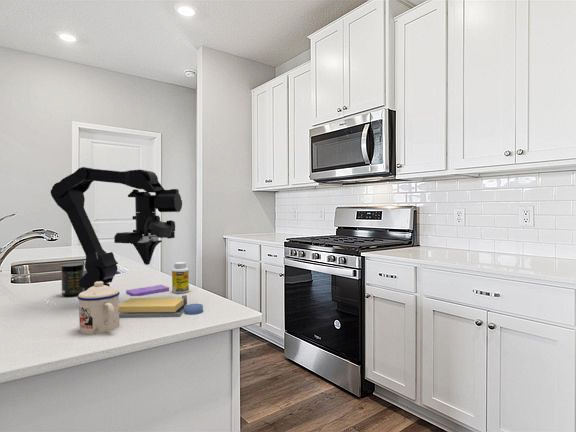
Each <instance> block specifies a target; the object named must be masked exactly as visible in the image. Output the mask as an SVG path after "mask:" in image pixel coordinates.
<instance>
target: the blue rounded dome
mask: <svg viewBox="0 0 576 432" xmlns="http://www.w3.org/2000/svg"><path fill="white" fill-rule="evenodd" d="M203 312H204V305H203V304H201V303H190V304H186V306H184V313H183V314H184V315H193V316H194V315H200V314H202V313H203Z"/></svg>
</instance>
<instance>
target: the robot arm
mask: <svg viewBox="0 0 576 432" xmlns="http://www.w3.org/2000/svg"><path fill="white" fill-rule="evenodd" d="M93 182H102V183H103V182H104V183H113V184H122V185H125V186H126V187H130V188H134V189H132V191H131V192H129V194H128V195H127V197H128V198H135V199H134V201H135V204H134V205H135V206H134V207H135V215H132V220H135V229H133V230H132V232H131V231H124V232H123V231H122V232H116V233H115V235H114V237H113V238H114V239H113V240H114V244H130V245H133V246H134V248H135V249H136V251H137V253H138V254H139V256H140V258H141V261H142V262H143V264H144V265H146V266H147V265H150V263H151V260H152V258H153V254H154V251H155V249H156V247H157V246H158V245H159V244H160V243H162V242H163V240H160V239H163V238H165V239H166V238H167V239H168V240H169V239H175V238H176V237H175V233H176V222H175V221H173V220H171V219H170V220H167V221H161V216H160V215H157V210H158V212H159V213H180V212H181V211H182V207H183V200H182V197H181V195H180V192H179V188H172V189H165V188H164V187H163V186H162V184H161V183H160V181H159V177H158V175H157V174H156V173H155V172H153V171H150V170H145V169H131V170H126V171H119V170H109V169H99V168H93V167H86V166H82V167H79V168H78V169H76V170H75V171H74V172H73V173H70V174H69V175H67V176H66V177H63V178H62V179H61V180H60V181H58V182H56V183H54V185H52V187H51V189H50V195H51V198H52V199H53V200H54V202H55V203H56V205H57V206H58V207H59V208H60V209H61V210H63V211H64V212H65V214H66V215H67V217H68V219H69V222H70V223H71V225H72V228H73V230H74V232H75V235H76V237H77V240H78V242H79V244H80V245H81V248H82V250H83V252H84V255H85V263H84V267H85V268H84V269H85V271H86V273H84V276H83V277H82V278H81V279H80V280H79V283H80V286H81V288H84V291H86V290H88V289H89V288H90V287H93V286H94V283H95V282H98V281H102V282H103V285H106V286H109V287H111V286H110V283H112V282H113V280H114V277H115V276H116V274H117V272H118V264H119V262H118V261H117V260H116V258H115V255H114V253H113V252H112V251H111V252H106V251H105V250H104V248H103V247H102V245H101V243H100V240H99V238H98V235H97V234H96V231H95V230H94V227H93V225H92V223H91V220H90V218H89V216H88V214H87V212H86V209H85V201H86V200H85V195H84V193H85V192H87V191H88V190H89V188H90V187H91V185H92V183H93ZM139 190H144V191H139ZM151 193H154V194H151Z"/></svg>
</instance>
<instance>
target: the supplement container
mask: <svg viewBox="0 0 576 432" xmlns="http://www.w3.org/2000/svg"><path fill="white" fill-rule="evenodd" d="M84 267H85V263H83V262H81V263H80V262H78V263H77V262H76V263H66V264H61V265H60V272H61V274H60V275H61V295H62V296H63V297H65V298H74V297H78V295H79V294H80V293H81V292H83V291H84V288H81V286H80V283H79V280H80V279H81V278H82V277H83V276H84V275H85V273H84V271H85V270H84V269H85V268H84Z"/></svg>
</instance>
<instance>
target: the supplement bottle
mask: <svg viewBox="0 0 576 432" xmlns="http://www.w3.org/2000/svg"><path fill="white" fill-rule="evenodd" d="M189 272H190V270H189V268H188V267H187V262H186V261H179V262H178V261H177V262H174V268H172V269H171V283H172V284H171V285H172V287H171V289H172V293H174V294H184V293H185V294H186V293H188V292H189V290H190V284H189V283H190V282H189V280H190V279H189V278H190V276H189V275H190V274H189Z"/></svg>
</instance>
